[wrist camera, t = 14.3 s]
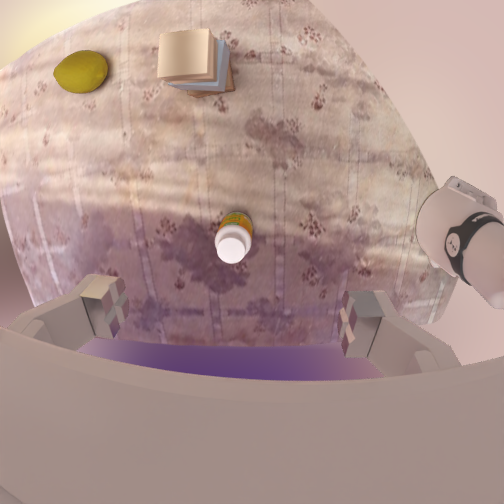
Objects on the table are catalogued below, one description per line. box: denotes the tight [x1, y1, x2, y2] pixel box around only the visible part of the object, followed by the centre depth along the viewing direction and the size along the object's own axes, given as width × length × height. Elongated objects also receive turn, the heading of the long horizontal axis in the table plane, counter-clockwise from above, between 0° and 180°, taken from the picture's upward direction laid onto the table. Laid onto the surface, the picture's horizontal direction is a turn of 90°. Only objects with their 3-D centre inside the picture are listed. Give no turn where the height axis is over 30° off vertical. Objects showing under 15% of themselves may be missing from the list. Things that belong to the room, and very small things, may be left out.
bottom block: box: [187, 59, 235, 98], centre depth 35 cm, size 6×6×6 cm
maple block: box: [157, 28, 218, 84], centre depth 25 cm, size 5×5×6 cm
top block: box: [168, 40, 230, 92], centre depth 30 cm, size 6×6×6 cm
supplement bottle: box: [215, 212, 253, 263], centre depth 44 cm, size 5×5×10 cm
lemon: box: [53, 50, 108, 93], centre depth 33 cm, size 11×8×8 cm
